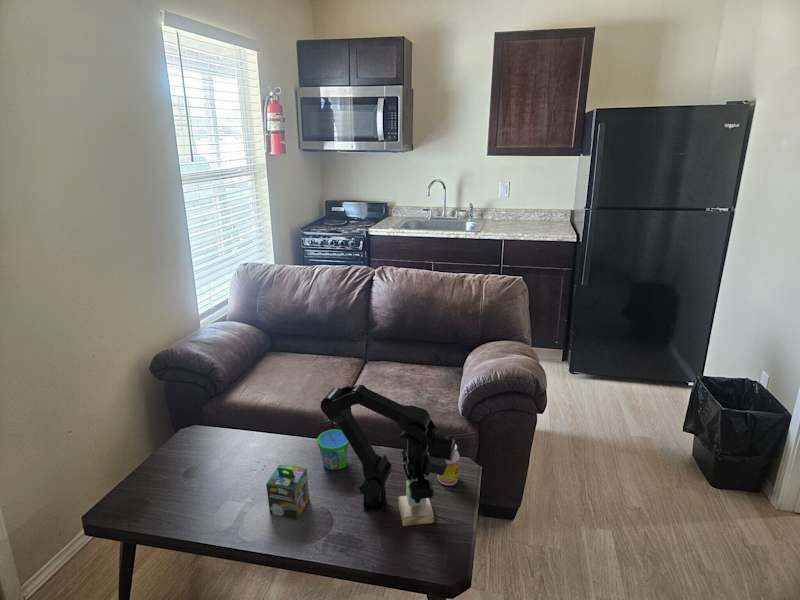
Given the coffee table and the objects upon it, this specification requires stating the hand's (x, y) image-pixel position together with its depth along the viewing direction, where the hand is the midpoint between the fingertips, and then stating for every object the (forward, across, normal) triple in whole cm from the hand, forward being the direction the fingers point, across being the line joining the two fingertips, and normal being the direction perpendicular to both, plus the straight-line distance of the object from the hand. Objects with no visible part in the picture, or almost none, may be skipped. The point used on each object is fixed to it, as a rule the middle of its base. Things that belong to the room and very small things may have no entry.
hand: (415, 496), depth 150 cm
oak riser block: (+6, 0, 0) cm, 6 cm away
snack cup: (+6, +26, +23) cm, 35 cm away
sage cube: (+1, 0, 0) cm, 1 cm away
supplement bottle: (+6, +13, -13) cm, 20 cm away
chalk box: (+6, +8, +37) cm, 38 cm away
